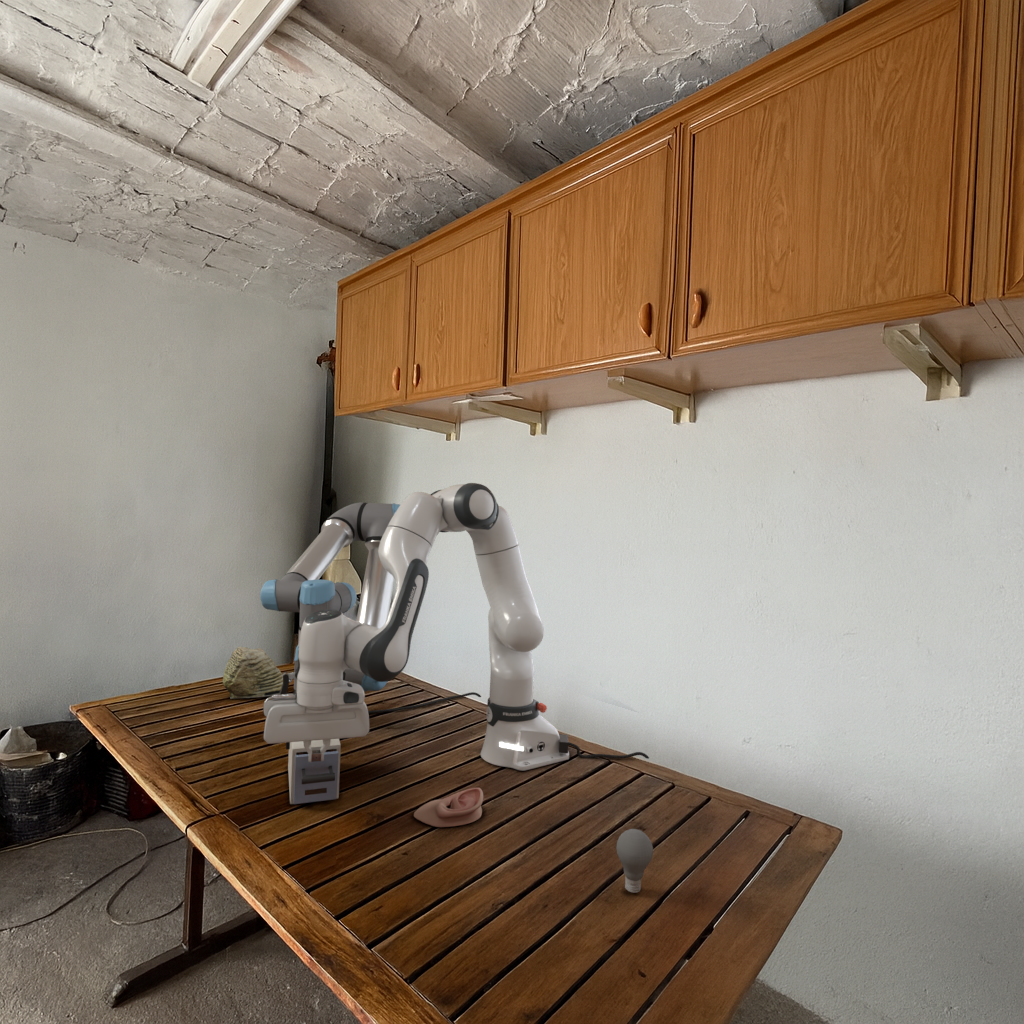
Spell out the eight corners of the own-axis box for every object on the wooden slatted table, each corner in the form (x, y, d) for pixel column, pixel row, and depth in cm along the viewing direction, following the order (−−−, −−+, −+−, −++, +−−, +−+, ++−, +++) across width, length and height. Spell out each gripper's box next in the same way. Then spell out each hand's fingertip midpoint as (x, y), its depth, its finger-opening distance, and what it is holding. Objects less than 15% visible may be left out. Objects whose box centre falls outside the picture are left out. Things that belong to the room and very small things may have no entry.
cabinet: (338, 798, 133) (340, 744, 133) (290, 804, 130) (292, 749, 130) (330, 762, 151) (332, 715, 151) (288, 767, 147) (289, 718, 147)
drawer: (339, 811, 126) (341, 763, 126) (294, 817, 123) (296, 768, 123) (329, 764, 148) (331, 723, 147) (291, 768, 145) (292, 727, 144)
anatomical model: (408, 802, 124) (427, 778, 135) (407, 822, 124) (427, 796, 136) (473, 812, 122) (488, 786, 133) (473, 832, 122) (487, 805, 133)
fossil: (218, 695, 195) (220, 647, 195) (278, 685, 208) (279, 640, 207) (228, 703, 189) (230, 653, 188) (289, 692, 201) (290, 645, 201)
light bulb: (610, 879, 108) (613, 822, 108) (644, 879, 109) (647, 822, 109) (619, 902, 102) (622, 840, 102) (655, 901, 103) (658, 840, 103)
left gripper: (263, 654, 137) (259, 756, 138) (367, 649, 145) (363, 746, 146) (263, 646, 144) (259, 743, 145) (362, 642, 152) (359, 734, 153)
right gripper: (263, 699, 120) (259, 772, 121) (372, 694, 128) (368, 762, 128) (264, 690, 126) (260, 758, 126) (368, 685, 133) (364, 750, 134)
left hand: (311, 744), depth 145 cm, fingers closed on cabinet, 10 cm apart
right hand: (315, 760), depth 127 cm, fingers closed
